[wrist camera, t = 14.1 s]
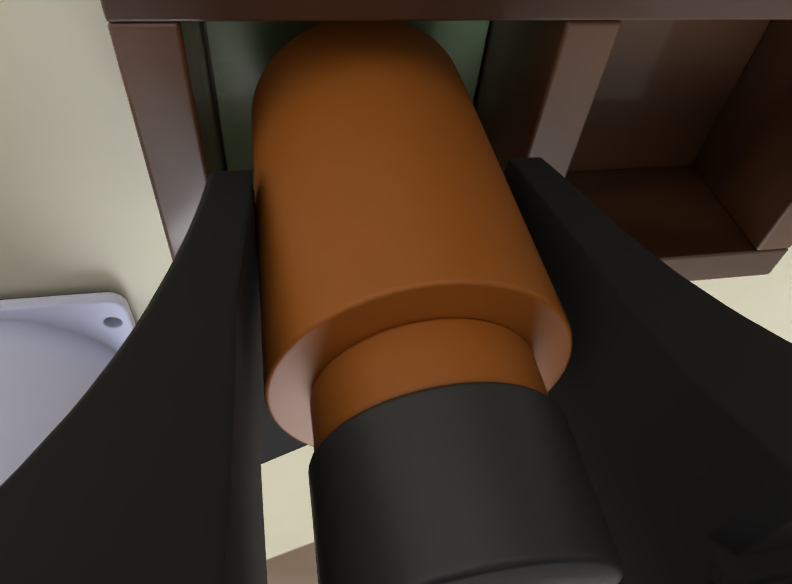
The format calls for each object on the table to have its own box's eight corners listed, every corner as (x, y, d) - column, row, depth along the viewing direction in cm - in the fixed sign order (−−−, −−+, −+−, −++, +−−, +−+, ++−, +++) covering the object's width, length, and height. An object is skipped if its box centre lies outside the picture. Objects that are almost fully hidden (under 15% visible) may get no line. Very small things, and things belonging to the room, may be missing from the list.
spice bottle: (447, 194, 15) (594, 627, 9) (260, 204, 14) (286, 685, 8) (481, 13, 12) (753, 511, 6) (240, 13, 11) (258, 590, 5)
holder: (696, 177, 19) (769, 275, 17) (194, 203, 17) (189, 324, 14) (865, -119, 13) (1019, -37, 11) (119, -150, 11) (84, -52, 8)
